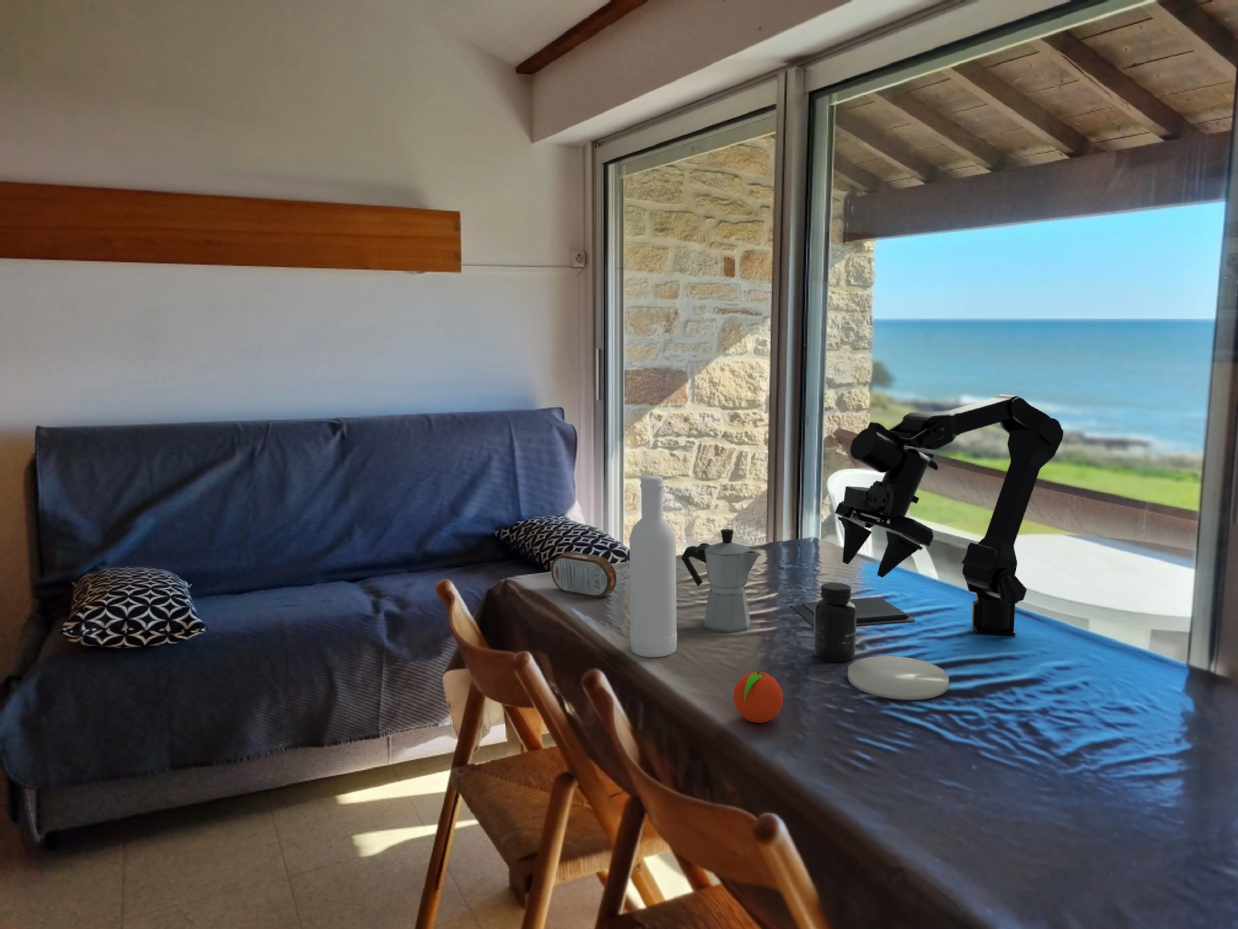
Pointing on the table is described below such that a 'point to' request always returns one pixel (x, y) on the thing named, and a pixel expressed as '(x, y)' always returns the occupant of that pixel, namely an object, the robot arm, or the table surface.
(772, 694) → the clementine
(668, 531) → the bottle
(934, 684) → the saucer
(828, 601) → the supplement bottle
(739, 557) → the coffee maker
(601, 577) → the tin
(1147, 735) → the table surface
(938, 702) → the table surface
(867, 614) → the dark grey flat block
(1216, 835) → the table surface
